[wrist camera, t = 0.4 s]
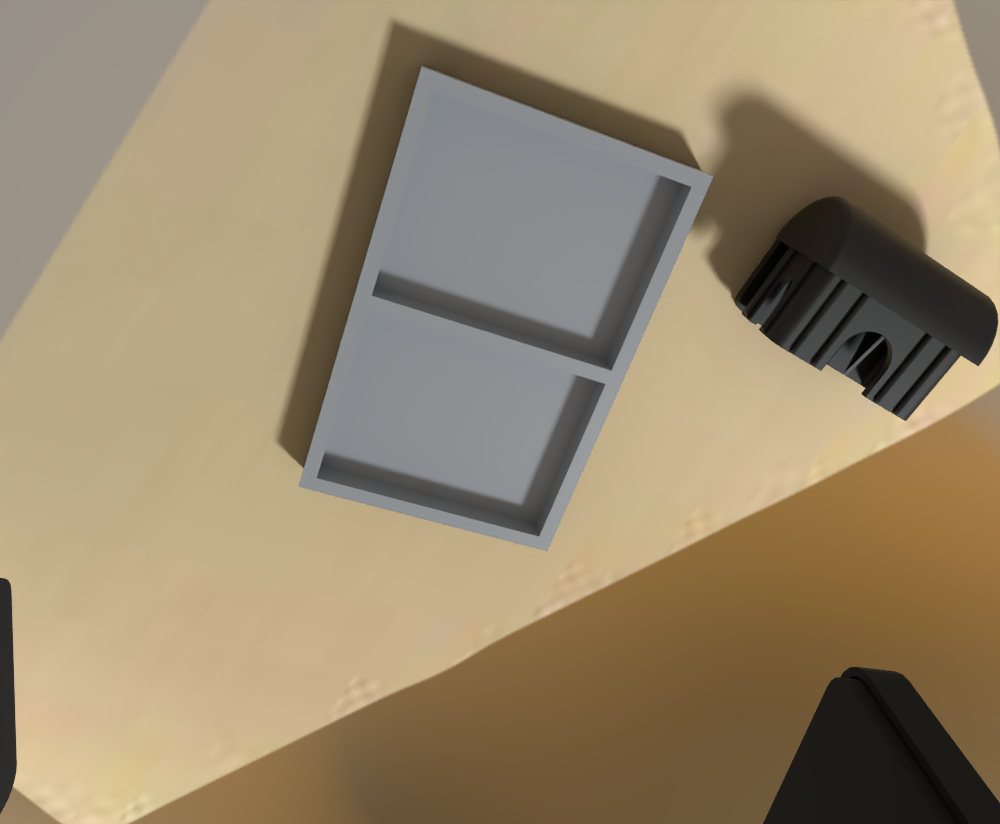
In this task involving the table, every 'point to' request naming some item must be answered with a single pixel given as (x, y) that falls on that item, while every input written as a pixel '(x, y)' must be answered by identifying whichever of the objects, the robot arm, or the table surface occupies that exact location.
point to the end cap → (866, 305)
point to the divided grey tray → (496, 312)
